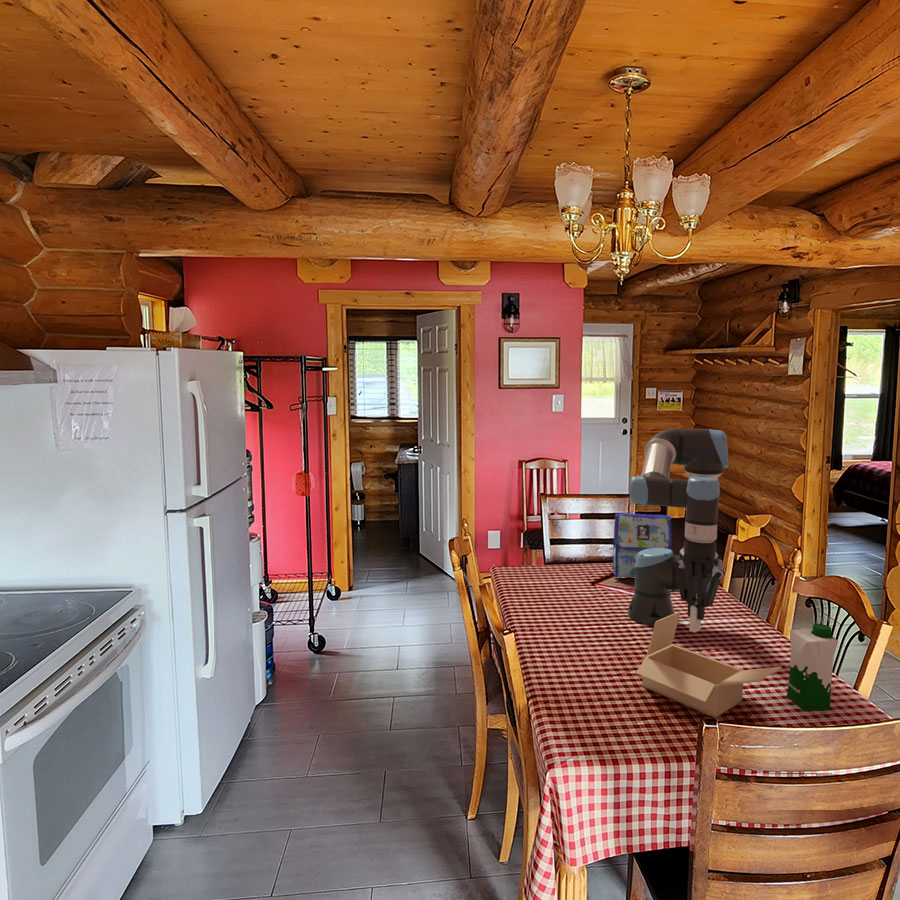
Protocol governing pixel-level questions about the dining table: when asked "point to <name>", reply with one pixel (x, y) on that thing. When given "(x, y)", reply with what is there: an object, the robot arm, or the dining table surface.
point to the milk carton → (811, 667)
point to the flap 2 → (750, 676)
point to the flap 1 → (663, 633)
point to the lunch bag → (637, 539)
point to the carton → (691, 679)
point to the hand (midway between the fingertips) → (694, 630)
